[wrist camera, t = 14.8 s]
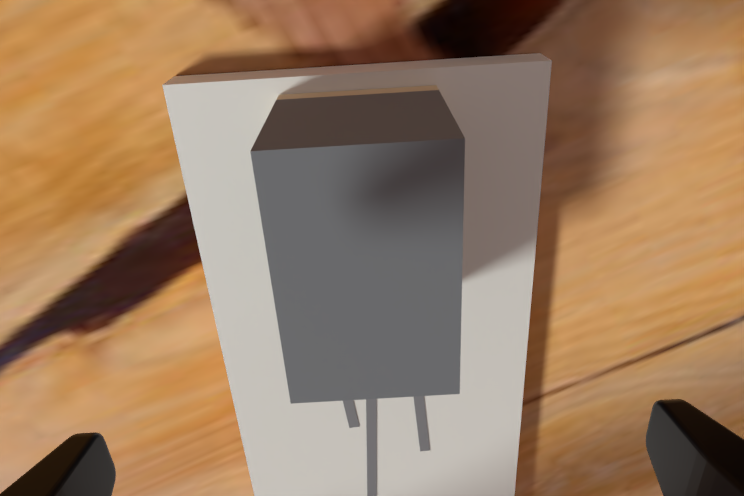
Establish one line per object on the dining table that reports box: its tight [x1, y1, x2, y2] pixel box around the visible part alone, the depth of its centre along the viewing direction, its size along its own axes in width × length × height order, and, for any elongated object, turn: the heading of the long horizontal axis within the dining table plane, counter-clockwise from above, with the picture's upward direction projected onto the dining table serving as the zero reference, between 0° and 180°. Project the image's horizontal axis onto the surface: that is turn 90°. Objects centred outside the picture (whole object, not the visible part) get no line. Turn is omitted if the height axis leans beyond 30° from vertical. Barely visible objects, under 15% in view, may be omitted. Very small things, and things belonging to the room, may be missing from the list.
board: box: [163, 53, 552, 496], centre depth 22 cm, size 21×11×1 cm, turn 3°
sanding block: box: [250, 85, 465, 404], centre depth 16 cm, size 7×4×5 cm, turn 3°
